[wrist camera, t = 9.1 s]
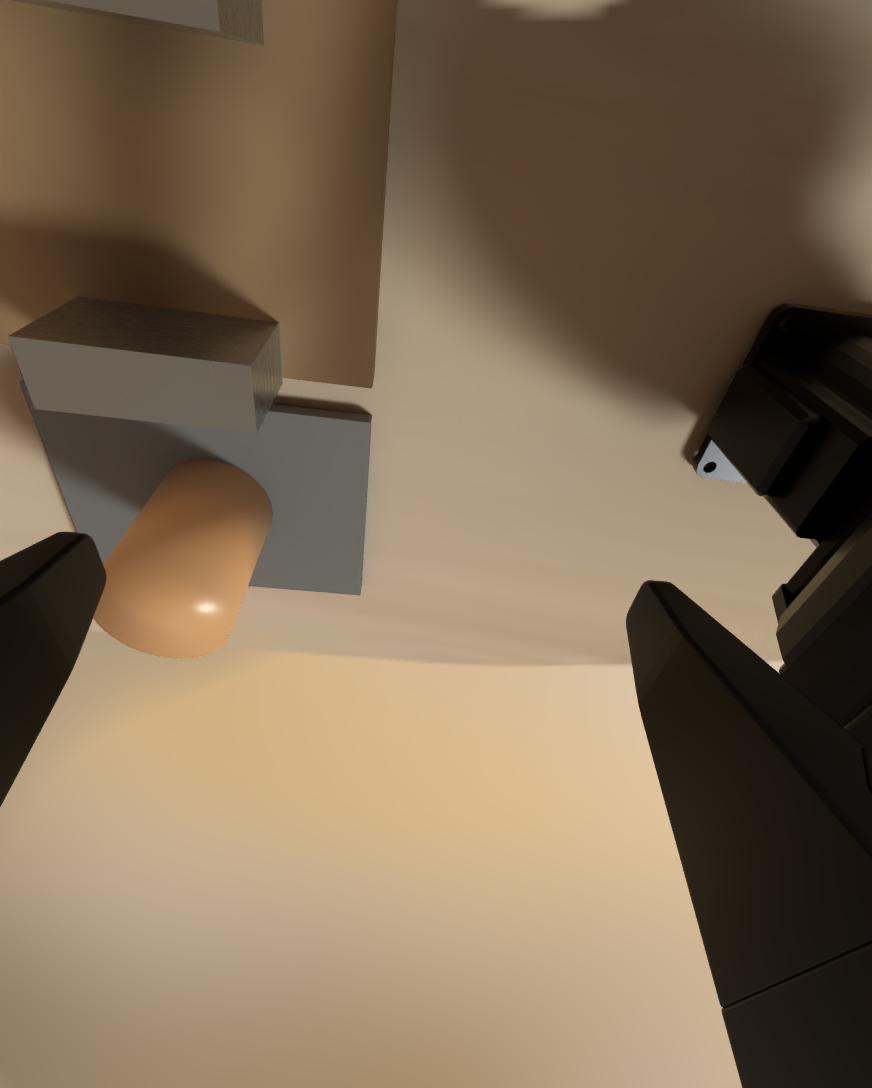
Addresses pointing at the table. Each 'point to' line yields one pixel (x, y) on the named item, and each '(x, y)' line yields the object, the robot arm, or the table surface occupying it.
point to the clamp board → (201, 172)
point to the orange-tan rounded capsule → (186, 561)
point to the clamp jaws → (147, 331)
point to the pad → (268, 456)
